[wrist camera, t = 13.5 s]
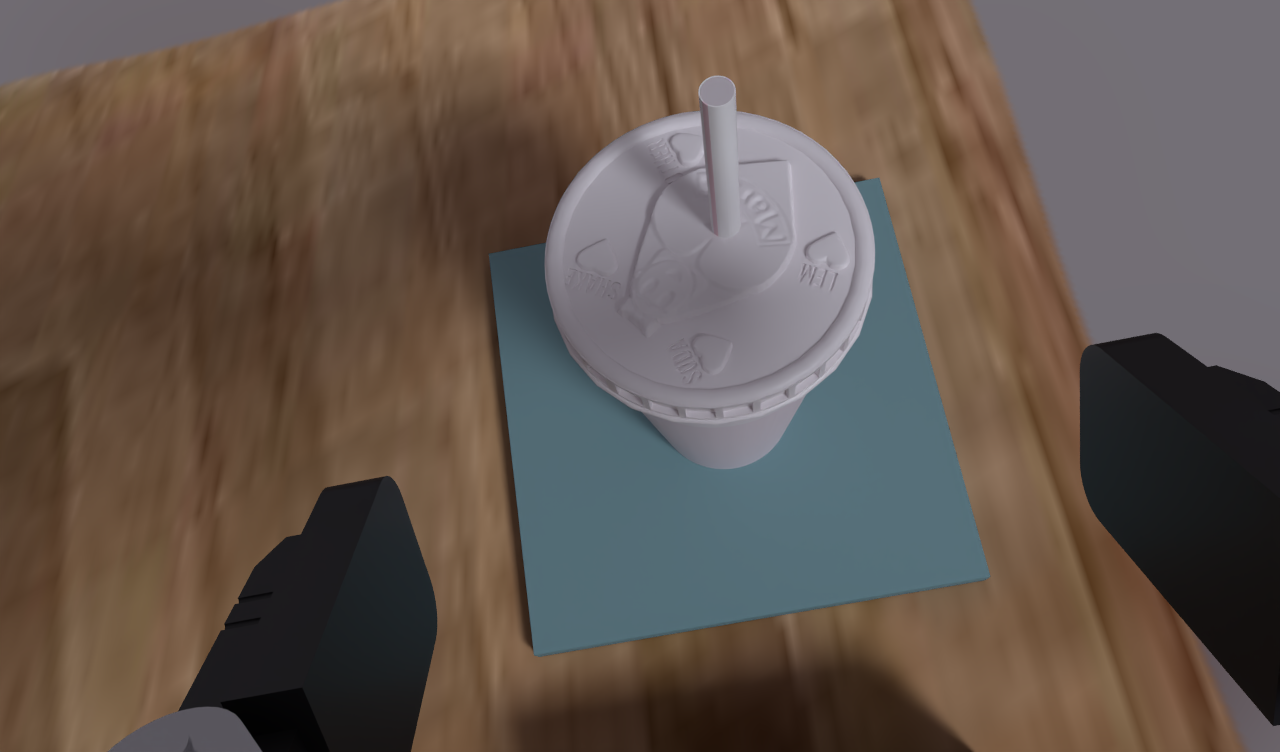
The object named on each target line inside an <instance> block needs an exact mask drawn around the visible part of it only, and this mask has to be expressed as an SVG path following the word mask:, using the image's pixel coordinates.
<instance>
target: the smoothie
mask: <svg viewBox="0 0 1280 752" xmlns="http://www.w3.org/2000/svg"><path fill="white" fill-rule="evenodd" d="M699 103H700V111H693V112H686V113H680V114H676V115H671V116H667V117H664V118H661V119H657V120H654V121H652V122H649V123H647V124H644V125H642V126H639V127H637V128H635V129H633V130H631V131H629V132H627V133H626V134H624V135H622V136H621V137H619V138H617V139H616V140H614V141H613V142H611V143H610V144H609V145H607V146H606V147H605V148H603V149H602V150H601V151H600V152H598V153H597V154H596V155H595V156H594V157H593V158H592V159H591V160H590V161H589V162H588V163H587V164H586V165H585V166H584V167H583V168H582V169H581V170H580V171H579V173H578V174H577V175H576V177H575V178H574V179H573V180H572V182H571V183H570V185H569V186H568V188H567V189H566V191H565V193H564V194H563V196H562V198H561V200H560V202H559V204H558V206H557V208H556V211H555V213H554V216H553V218H552V221H551V225H550V228H549V232H548V236H547V242H546V248H545V280H546V286H547V292H548V296H549V299H550V303H551V307H552V309H553V315H554V320H555V323H556V325H557V327H558V329H559V331H560V334H561V336H562V338H563V340H564V342H565V344H566V347H567V349H568V351H569V353H570V355H571V356H572V357H573V359H574V360H575V361H576V362H577V363H578V364H579V366H580V367H581V368H582V369H583V370H584V371H585V373H586V374H587V375H588V376H589V377H590V378H591V379H592V381H593V382H594V383H595V384H596V385H597V386H598V387H600V388H601V389H603V390H604V391H606V392H607V393H609V394H610V395H612V396H613V397H615V398H616V399H618V400H619V401H621V402H622V403H624V404H625V405H627V406H628V407H630V408H632V409H634V410H637V411H640V412H642V413H643V414H644V415H645V416H646V417H647V418H648V420H649V421H650V422H651V423H652V424H653V425H654V426H655V427H656V428H657V430H658V431H659V432H660V433H661V434H662V435H663V436H664V437H665V438H666V439H667V441H668V442H669V443H670V444H671V445H672V446H673V447H674V448H675V449H676V450H677V451H678V452H679V453H680V454H681V455H683V456H684V457H685V458H687V459H688V460H690V461H692V462H694V463H696V464H699V465H701V466H705V467H708V468H714V469H734V468H739V467H743V466H746V465H749V464H751V463H753V462H755V461H757V460H759V459H760V458H762V457H763V456H765V455H766V454H767V453H768V452H770V451H771V450H772V449H773V448H774V446H775V445H776V444H777V443H778V441H779V440H780V438H781V437H782V435H783V433H784V432H785V430H786V428H787V427H788V425H789V423H790V421H791V420H792V418H793V416H794V415H795V413H796V411H797V409H798V408H799V406H800V404H801V403H802V401H803V399H804V397H805V396H806V394H807V393H809V392H810V391H811V390H812V389H813V388H815V387H816V386H817V385H818V384H819V383H821V382H822V381H823V380H824V379H825V378H827V377H828V376H829V375H830V374H831V373H833V372H834V371H835V370H836V368H837V367H838V366H839V364H840V363H841V361H842V360H843V358H844V357H845V355H846V354H847V353H848V351H849V350H850V348H851V347H852V345H853V344H854V342H855V341H856V339H857V338H858V337H859V335H860V332H861V329H862V326H863V323H864V320H865V317H866V314H867V311H868V308H869V305H870V302H871V299H872V284H873V274H874V268H875V242H874V234H873V228H872V223H871V220H870V216H869V213H868V209H867V207H866V205H865V202H864V200H863V197H862V195H861V193H860V192H859V190H858V188H857V186H856V184H855V183H854V181H853V180H852V178H851V177H850V175H849V174H848V173H847V171H846V170H845V169H844V168H843V166H842V165H841V164H840V163H839V162H838V161H837V160H836V159H835V158H834V157H833V156H832V155H831V154H830V153H829V152H828V151H827V150H826V149H825V148H823V147H822V146H821V145H819V144H818V143H817V142H816V141H814V140H813V139H811V138H810V137H808V136H806V135H805V134H803V133H802V132H800V131H798V130H796V129H794V128H792V127H790V126H788V125H786V124H783V123H781V122H778V121H776V120H773V119H769V118H766V117H763V116H759V115H755V114H750V113H745V112H737V111H736V89H735V85H734V83H733V82H732V81H731V80H730V79H728V78H727V77H724V76H712V77H709V78H707V79H706V80H705V81H703V82H702V84H701V85H700V87H699Z"/></svg>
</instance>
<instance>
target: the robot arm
mask: <svg viewBox="0 0 1280 752" xmlns="http://www.w3.org/2000/svg"><path fill="white" fill-rule="evenodd" d="M1080 469H1081V477H1082V482H1083V486H1084V490H1085V493H1086V496H1087V499H1088V502H1089V504H1090V506H1091V508H1092V510H1093V512H1094V514H1095V515H1096V517H1097V518H1098V520H1099V521H1100V522H1101V523H1102V525H1103V526H1104V527H1105V528H1106V529H1107V531H1108V532H1109V533H1110V534H1111V535H1112V536H1113V538H1114V539H1115V540H1116V541H1117V542H1118V544H1119V545H1120V546H1121V547H1122V548H1123V549H1124V551H1125V552H1126V553H1127V554H1128V555H1129V557H1130V558H1131V559H1132V560H1133V561H1134V562H1135V564H1136V565H1137V566H1138V567H1139V568H1140V569H1141V571H1142V572H1143V573H1144V574H1145V575H1146V577H1147V578H1148V579H1149V580H1150V581H1151V582H1152V584H1153V585H1154V586H1155V587H1156V588H1157V590H1158V591H1159V592H1160V593H1161V594H1162V595H1163V597H1164V598H1165V599H1166V600H1167V601H1168V603H1169V604H1170V605H1171V606H1172V607H1173V608H1174V610H1175V611H1176V612H1177V613H1178V614H1179V616H1180V617H1181V618H1182V619H1183V620H1184V621H1185V623H1186V624H1187V625H1188V626H1189V627H1190V629H1191V630H1192V631H1193V632H1194V633H1195V634H1196V636H1197V637H1198V638H1199V639H1200V640H1201V641H1202V643H1203V644H1204V645H1205V646H1206V647H1207V649H1208V650H1209V651H1210V652H1211V653H1212V654H1213V656H1214V657H1215V658H1216V659H1217V660H1218V662H1219V663H1220V664H1221V665H1222V666H1223V667H1224V669H1225V670H1226V671H1227V672H1228V673H1229V675H1230V676H1231V677H1232V678H1233V679H1234V680H1235V682H1236V683H1237V684H1238V685H1239V686H1240V688H1241V689H1242V690H1243V691H1244V692H1245V693H1246V695H1247V696H1248V697H1249V698H1250V699H1251V700H1252V702H1253V703H1254V704H1255V705H1256V706H1257V708H1258V709H1259V710H1260V711H1261V712H1262V713H1263V715H1264V716H1265V717H1266V718H1267V719H1268V721H1269V722H1270V723H1271V724H1272V725H1273V726H1276V725H1280V392H1279V391H1277V390H1276V389H1274V388H1273V387H1271V386H1270V385H1268V384H1267V383H1265V382H1264V381H1261V380H1258V379H1255V378H1252V377H1249V376H1246V375H1243V374H1240V373H1237V372H1234V371H1231V370H1228V369H1225V368H1222V367H1219V366H1217V365H1216V366H1211V367H1207V366H1205V365H1204V364H1203V363H1201V362H1200V361H1199V360H1197V359H1196V358H1194V357H1193V356H1192V355H1190V354H1189V353H1187V352H1186V351H1185V350H1183V349H1182V348H1180V347H1179V346H1178V345H1176V344H1175V343H1173V342H1172V341H1171V340H1169V339H1168V338H1167V337H1165V336H1163V335H1162V334H1159V333H1153V334H1147V335H1142V336H1137V337H1131V338H1126V339H1121V340H1115V341H1110V342H1105V343H1099V344H1094V345H1090V346H1088V347H1087V348H1086V349H1085V350H1084V352H1083V354H1082V357H1081V363H1080ZM238 599H239V604H235V605H234V607H233V609H232V611H231V613H230V614H229V616H228V618H227V620H226V622H225V630H221V631H220V633H219V635H218V637H217V639H216V641H215V643H214V645H213V646H212V648H211V650H210V652H209V654H208V656H207V658H206V660H205V662H204V663H203V665H202V667H201V669H200V671H199V673H198V675H197V677H196V679H195V680H194V682H193V684H192V686H191V688H190V690H189V692H188V694H187V696H186V697H185V699H184V701H183V703H182V705H181V707H180V709H179V711H178V712H175V713H172V714H169V715H166V716H164V717H162V718H159V719H157V720H154V721H152V722H151V723H149V724H147V725H145V726H143V727H141V728H139V729H138V730H136V731H135V732H133V733H131V734H130V735H128V736H127V737H125V738H124V739H123V740H121V741H120V742H119V743H117V744H116V745H115V746H113V747H112V748H111V749H110V750H109V751H108V752H411V748H412V744H413V739H414V735H415V730H416V726H417V721H418V717H419V712H420V708H421V703H422V699H423V694H424V690H425V685H426V681H427V676H428V672H429V667H430V663H431V659H432V654H433V650H434V645H435V641H436V635H437V609H436V601H435V596H434V591H433V587H432V583H431V580H430V577H429V574H428V571H427V568H426V566H425V563H424V560H423V557H422V554H421V551H420V548H419V545H418V542H417V539H416V536H415V533H414V530H413V527H412V524H411V521H410V519H409V516H408V513H407V510H406V507H405V504H404V501H403V498H402V495H401V493H400V490H399V488H398V486H397V484H396V483H395V481H394V480H393V479H392V478H391V477H389V476H385V477H379V478H374V479H369V480H364V481H358V482H353V483H348V484H342V485H337V486H332V487H327V488H325V489H324V490H323V491H322V492H321V494H320V496H319V498H318V500H317V502H316V504H315V507H314V509H313V511H312V513H311V515H310V517H309V519H308V521H307V523H306V525H305V527H304V529H303V531H302V534H301V535H295V536H290V537H286V538H285V539H284V540H283V541H282V542H281V543H279V544H278V545H277V546H276V547H275V548H274V549H273V550H272V551H271V552H270V553H269V554H268V555H267V556H266V557H265V558H264V559H263V560H262V561H260V562H259V563H258V564H257V565H256V566H255V567H254V569H253V571H252V573H251V575H250V577H249V579H248V580H247V582H246V584H245V586H244V588H243V590H242V592H241V594H240V596H239V597H238Z"/></svg>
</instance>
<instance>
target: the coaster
mask: <svg viewBox="0 0 1280 752" xmlns="http://www.w3.org/2000/svg"><path fill="white" fill-rule="evenodd" d="M854 183H855V184H856V186H857V188H858V190H859V192H860V193H861V195H862V197H863V200H864V202H865V205H866V207H867V209H868V213H869V216H870V220H871V223H872V228H873V234H874V242H875V268H874V274H873V284H872V299H871V302H870V305H869V308H868V311H867V314H866V317H865V320H864V323H863V326H862V329H861V332H860V335H859V337H858V338H857V339H856V341H855V342H854V344H853V345H852V347H851V348H850V350H849V351H848V353H847V354H846V355H845V357H844V358H843V360H842V361H841V363H840V364H839V366H838V367H837V368H836V370H835V371H834V372H833V373H831V374H830V375H829V376H828V377H827V378H825V379H824V380H823V381H822V382H821V383H819V384H818V385H817V386H816V387H815V388H813V389H812V390H811V391H810V392H809V393H807V394H806V396H805V397H804V399H803V401H802V403H801V404H800V406H799V408H798V409H797V411H796V413H795V415H794V416H793V418H792V420H791V421H790V423H789V425H788V427H787V428H786V430H785V432H784V433H783V435H782V437H781V438H780V440H779V441H778V443H777V444H776V445H775V446H774V448H773V449H772V450H771V451H770V452H768V453H767V454H766V455H765V456H763V457H762V458H760V459H759V460H757V461H755V462H753V463H751V464H749V465H746V466H743V467H739V468H734V469H714V468H708V467H705V466H701V465H699V464H696V463H694V462H692V461H690V460H688V459H687V458H685V457H684V456H683V455H681V454H680V453H679V452H678V451H677V450H676V449H675V448H674V447H673V446H672V445H671V444H670V443H669V442H668V441H667V439H666V438H665V437H664V436H663V435H662V434H661V433H660V432H659V431H658V430H657V428H656V427H655V426H654V425H653V424H652V423H651V422H650V421H649V420H648V418H647V417H646V416H645V415H644V414H643V413H642V412H640V411H637V410H634V409H632V408H630V407H628V406H627V405H625V404H624V403H622V402H621V401H619V400H618V399H616V398H615V397H613V396H612V395H610V394H609V393H607V392H606V391H604V390H603V389H601V388H600V387H598V386H597V385H596V384H595V383H594V382H593V381H592V379H591V378H590V377H589V376H588V375H587V374H586V373H585V371H584V370H583V369H582V368H581V367H580V366H579V364H578V363H577V362H576V361H575V360H574V359H573V357H572V356H571V355H570V353H569V351H568V349H567V347H566V344H565V342H564V340H563V338H562V336H561V334H560V331H559V329H558V327H557V325H556V323H555V320H554V315H553V309H552V307H551V303H550V299H549V296H548V292H547V286H546V280H545V248H546V243H542V244H536V245H531V246H526V247H521V248H516V249H511V250H506V251H501V252H495V253H490V254H489V260H490V269H491V278H492V286H493V295H494V304H495V313H496V322H497V331H498V340H499V349H500V357H501V366H502V375H503V384H504V393H505V402H506V411H507V420H508V428H509V437H510V446H511V455H512V464H513V473H514V482H515V490H516V499H517V508H518V517H519V526H520V535H521V544H522V553H523V561H524V570H525V579H526V588H527V597H528V606H529V615H530V624H531V632H532V641H533V650H534V655H535V656H538V657H541V656H546V655H552V654H558V653H564V652H570V651H575V650H581V649H587V648H593V647H599V646H605V645H610V644H616V643H622V642H628V641H634V640H639V639H645V638H651V637H657V636H663V635H669V634H674V633H680V632H686V631H692V630H698V629H703V628H709V627H715V626H721V625H727V624H733V623H738V622H744V621H750V620H756V619H762V618H767V617H773V616H779V615H785V614H791V613H797V612H802V611H808V610H814V609H820V608H826V607H831V606H837V605H843V604H849V603H855V602H861V601H866V600H872V599H878V598H884V597H890V596H895V595H901V594H907V593H913V592H919V591H925V590H930V589H936V588H942V587H948V586H954V585H959V584H965V583H971V582H977V581H983V580H986V579H988V578H989V577H990V574H989V570H988V566H987V563H986V559H985V556H984V552H983V548H982V545H981V541H980V538H979V534H978V530H977V527H976V523H975V520H974V516H973V513H972V509H971V505H970V502H969V498H968V495H967V491H966V487H965V484H964V480H963V477H962V473H961V469H960V466H959V462H958V459H957V455H956V452H955V448H954V444H953V441H952V437H951V434H950V430H949V426H948V423H947V419H946V416H945V412H944V408H943V405H942V401H941V398H940V394H939V391H938V387H937V383H936V380H935V376H934V373H933V369H932V365H931V362H930V358H929V355H928V351H927V347H926V344H925V340H924V337H923V333H922V330H921V326H920V322H919V319H918V315H917V312H916V308H915V304H914V301H913V297H912V294H911V290H910V286H909V283H908V279H907V276H906V272H905V269H904V265H903V261H902V258H901V254H900V251H899V247H898V243H897V240H896V236H895V233H894V229H893V225H892V222H891V218H890V215H889V211H888V208H887V204H886V200H885V197H884V193H883V190H882V186H881V182H880V179H879V178H875V179H870V180H865V181H859V182H854Z"/></svg>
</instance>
